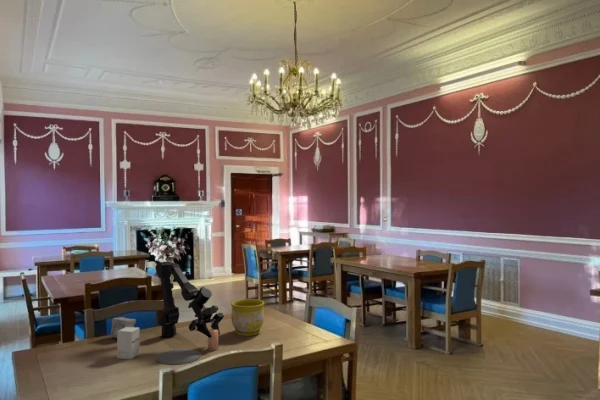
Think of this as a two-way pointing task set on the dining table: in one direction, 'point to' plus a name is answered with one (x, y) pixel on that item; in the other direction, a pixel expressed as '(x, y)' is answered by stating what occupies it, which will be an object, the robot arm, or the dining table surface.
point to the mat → (178, 356)
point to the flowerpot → (247, 316)
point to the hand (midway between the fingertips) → (215, 335)
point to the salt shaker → (213, 340)
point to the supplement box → (128, 342)
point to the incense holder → (121, 324)
